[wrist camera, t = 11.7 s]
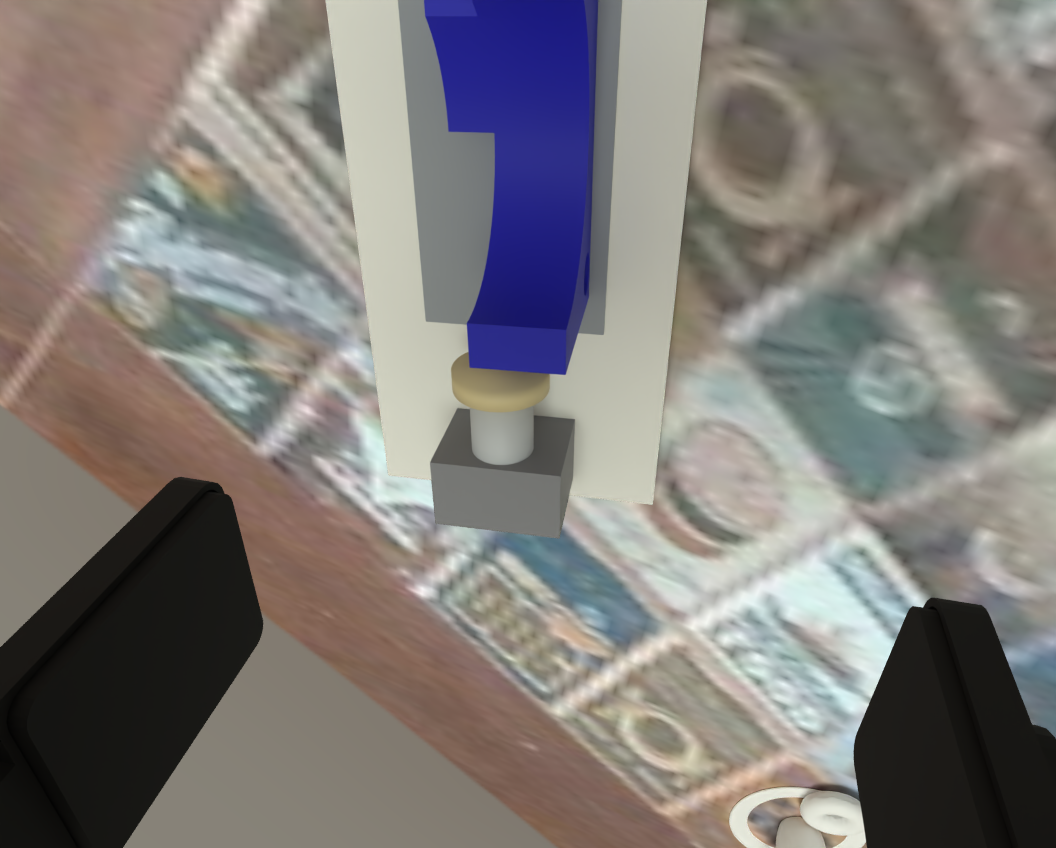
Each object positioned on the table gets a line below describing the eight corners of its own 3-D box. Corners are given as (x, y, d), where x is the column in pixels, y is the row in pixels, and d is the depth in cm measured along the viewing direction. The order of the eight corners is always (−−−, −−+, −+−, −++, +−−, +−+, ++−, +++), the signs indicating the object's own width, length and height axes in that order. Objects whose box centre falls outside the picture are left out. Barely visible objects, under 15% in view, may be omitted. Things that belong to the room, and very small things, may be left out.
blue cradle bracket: (447, -96, 22) (375, -106, 17) (601, -99, 21) (572, -111, 16) (470, 290, 28) (422, 364, 23) (588, 297, 28) (565, 375, 23)
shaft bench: (771, -611, 17) (802, -829, 12) (654, 484, 34) (647, 573, 29) (277, -552, 19) (134, -721, 14) (399, 456, 36) (352, 537, 31)
